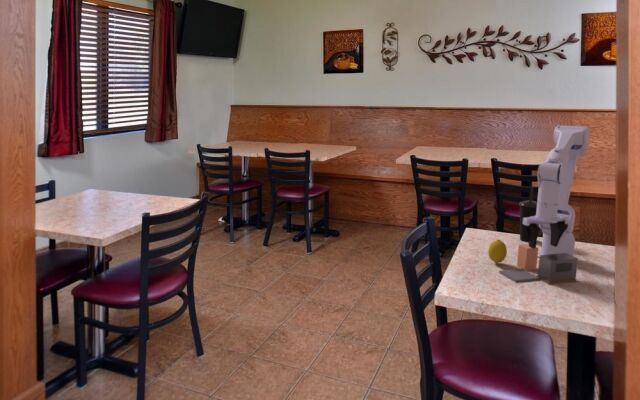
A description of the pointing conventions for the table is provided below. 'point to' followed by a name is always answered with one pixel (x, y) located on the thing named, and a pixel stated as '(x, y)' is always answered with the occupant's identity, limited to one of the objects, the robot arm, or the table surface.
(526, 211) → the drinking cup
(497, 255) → the lemon
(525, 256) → the terracotta block
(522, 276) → the mat
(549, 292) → the table surface
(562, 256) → the parts unit
